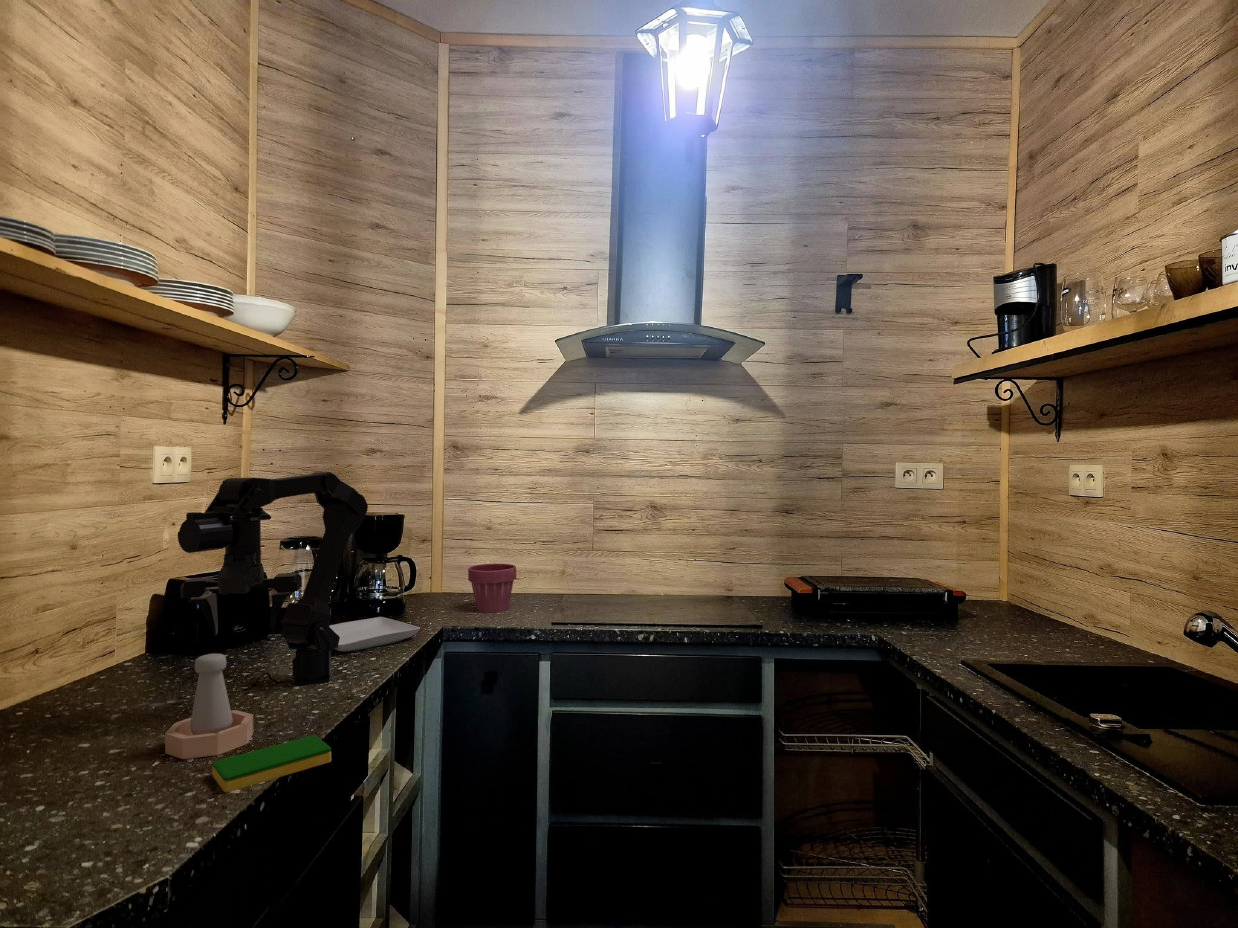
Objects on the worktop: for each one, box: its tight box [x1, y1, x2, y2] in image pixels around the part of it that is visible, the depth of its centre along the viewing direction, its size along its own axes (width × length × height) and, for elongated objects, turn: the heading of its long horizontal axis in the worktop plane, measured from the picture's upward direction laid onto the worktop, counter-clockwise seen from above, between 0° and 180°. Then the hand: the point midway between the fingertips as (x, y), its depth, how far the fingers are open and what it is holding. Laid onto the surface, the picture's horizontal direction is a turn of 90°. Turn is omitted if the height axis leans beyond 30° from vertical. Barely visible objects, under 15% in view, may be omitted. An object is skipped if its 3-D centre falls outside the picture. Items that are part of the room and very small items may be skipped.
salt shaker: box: [190, 653, 233, 735], centre depth 108 cm, size 6×6×13 cm
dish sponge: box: [212, 734, 332, 793], centre depth 98 cm, size 7×14×2 cm, turn 132°
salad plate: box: [329, 616, 421, 653], centre depth 170 cm, size 21×21×3 cm
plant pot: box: [467, 562, 517, 614], centre depth 205 cm, size 14×14×13 cm
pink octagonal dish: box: [164, 709, 254, 760], centre depth 107 cm, size 11×11×3 cm
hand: (243, 632), depth 125 cm, fingers open, 9 cm apart
